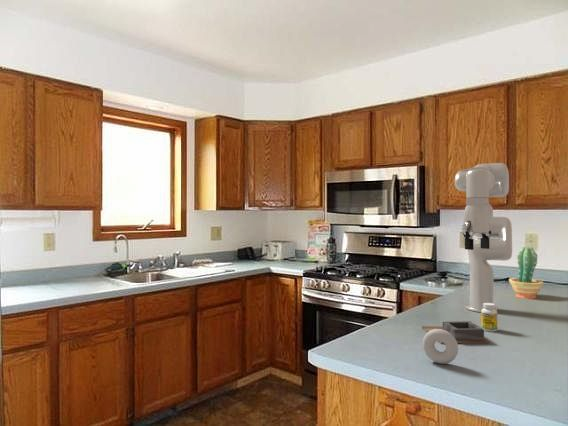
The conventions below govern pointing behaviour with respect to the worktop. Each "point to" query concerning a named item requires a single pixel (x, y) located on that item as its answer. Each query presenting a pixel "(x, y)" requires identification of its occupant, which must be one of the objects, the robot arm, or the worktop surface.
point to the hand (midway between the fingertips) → (477, 249)
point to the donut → (446, 338)
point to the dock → (461, 331)
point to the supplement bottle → (489, 317)
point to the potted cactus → (526, 275)
